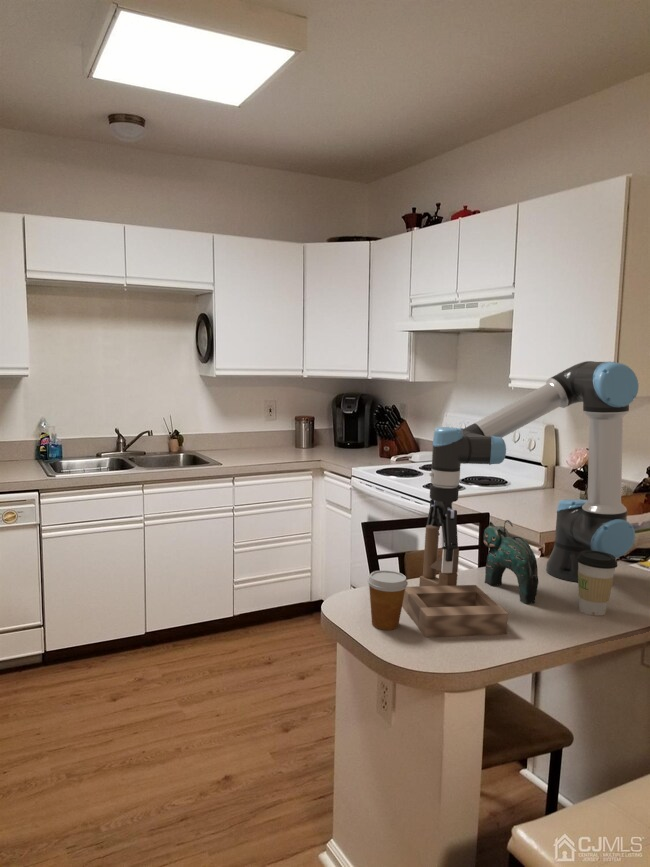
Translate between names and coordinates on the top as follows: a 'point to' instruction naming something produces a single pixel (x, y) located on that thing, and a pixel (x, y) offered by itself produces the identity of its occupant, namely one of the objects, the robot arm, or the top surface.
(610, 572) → the coffee cup
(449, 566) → the robot arm
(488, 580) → the teal animal figurine
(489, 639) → the top surface
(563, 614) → the top surface
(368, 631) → the top surface
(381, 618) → the disposable coffee cup
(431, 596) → the walnut slotted base
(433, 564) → the wooden post with wedge
